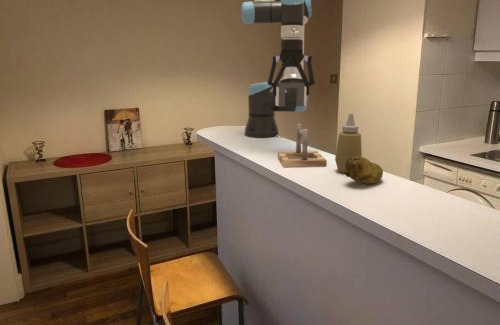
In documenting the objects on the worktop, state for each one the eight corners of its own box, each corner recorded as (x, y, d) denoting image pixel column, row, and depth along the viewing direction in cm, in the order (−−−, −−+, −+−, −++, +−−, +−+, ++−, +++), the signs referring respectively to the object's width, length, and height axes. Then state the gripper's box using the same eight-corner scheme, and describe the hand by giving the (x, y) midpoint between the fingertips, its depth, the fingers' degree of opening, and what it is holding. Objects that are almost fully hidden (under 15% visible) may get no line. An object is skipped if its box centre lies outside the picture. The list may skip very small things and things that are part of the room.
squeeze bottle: (361, 175, 124) (365, 116, 119) (334, 174, 126) (337, 115, 121) (360, 168, 132) (364, 112, 127) (334, 167, 133) (337, 111, 129)
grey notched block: (278, 106, 145) (278, 83, 143) (277, 105, 148) (277, 82, 146) (303, 106, 146) (304, 83, 144) (302, 105, 149) (302, 82, 147)
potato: (392, 185, 115) (395, 157, 113) (351, 189, 112) (352, 161, 110) (376, 177, 123) (378, 151, 121) (337, 180, 120) (338, 153, 118)
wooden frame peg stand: (277, 157, 146) (278, 123, 143) (316, 156, 147) (318, 123, 144) (283, 167, 133) (284, 130, 130) (326, 166, 135) (328, 129, 131)
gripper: (261, 38, 137) (261, 106, 142) (326, 38, 138) (323, 106, 144) (259, 39, 144) (259, 104, 149) (320, 39, 145) (318, 103, 151)
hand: (290, 105), depth 147 cm, fingers closed on grey notched block, 9 cm apart
